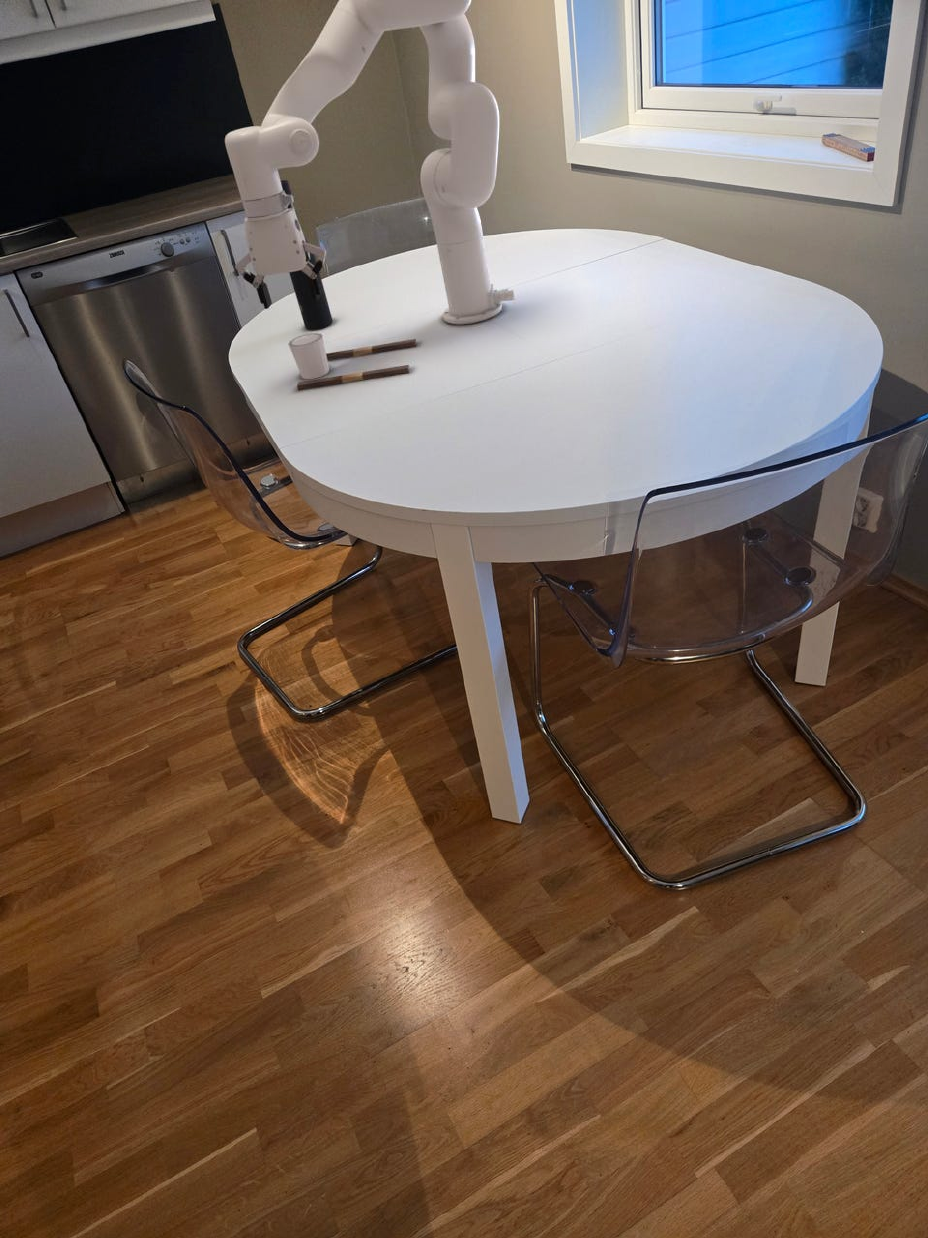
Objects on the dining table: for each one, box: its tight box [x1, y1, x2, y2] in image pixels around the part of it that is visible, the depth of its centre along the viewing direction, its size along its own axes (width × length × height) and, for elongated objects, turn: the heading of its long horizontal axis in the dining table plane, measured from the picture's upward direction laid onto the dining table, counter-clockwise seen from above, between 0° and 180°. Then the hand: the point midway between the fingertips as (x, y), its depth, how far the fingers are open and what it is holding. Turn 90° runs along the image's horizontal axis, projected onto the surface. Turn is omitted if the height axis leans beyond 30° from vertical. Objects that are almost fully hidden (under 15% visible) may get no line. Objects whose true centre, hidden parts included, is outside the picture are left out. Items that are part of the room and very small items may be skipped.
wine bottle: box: [280, 179, 334, 331], centre depth 190 cm, size 6×6×30 cm
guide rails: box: [296, 338, 417, 391], centre depth 173 cm, size 22×15×1 cm
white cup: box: [287, 332, 330, 380], centre depth 172 cm, size 7×7×7 cm
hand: (292, 302), depth 166 cm, fingers open, 9 cm apart
